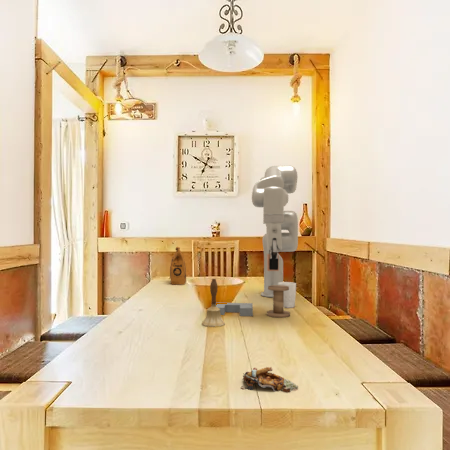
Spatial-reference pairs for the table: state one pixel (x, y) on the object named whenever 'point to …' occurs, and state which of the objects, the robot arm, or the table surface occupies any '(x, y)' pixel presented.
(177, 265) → the coffee package
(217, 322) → the hand bell
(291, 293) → the white cup
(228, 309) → the notch board
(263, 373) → the brown irregular lump
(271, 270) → the copper brown square peg
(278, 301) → the bobbin
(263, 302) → the table surface
